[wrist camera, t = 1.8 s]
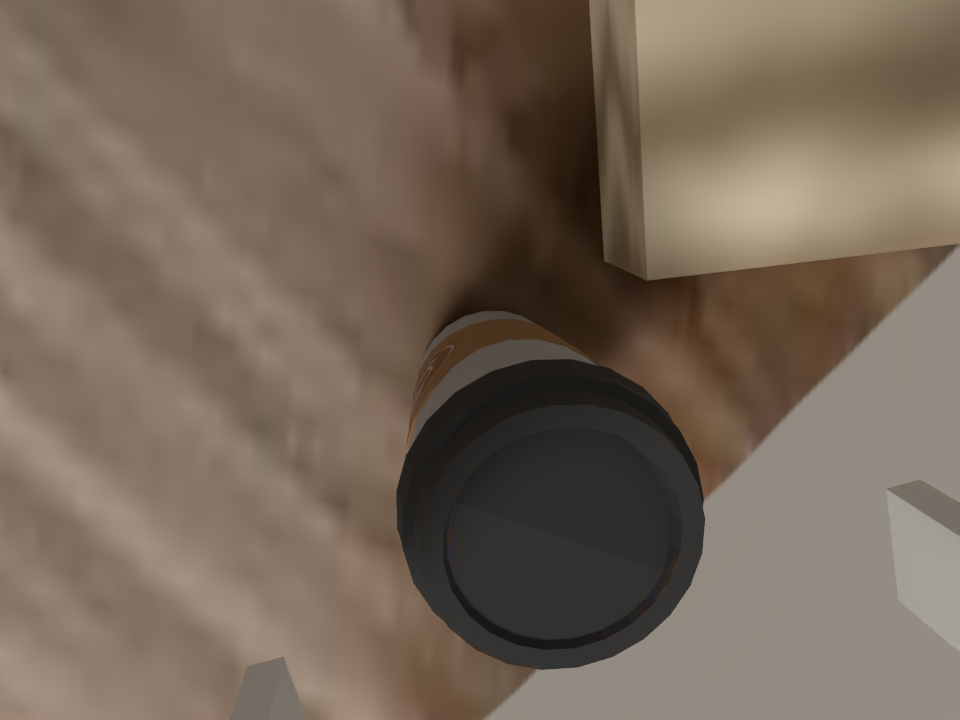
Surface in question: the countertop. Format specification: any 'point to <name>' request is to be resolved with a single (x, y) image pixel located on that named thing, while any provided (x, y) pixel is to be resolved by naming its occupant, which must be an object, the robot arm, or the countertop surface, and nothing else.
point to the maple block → (774, 130)
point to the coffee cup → (543, 497)
